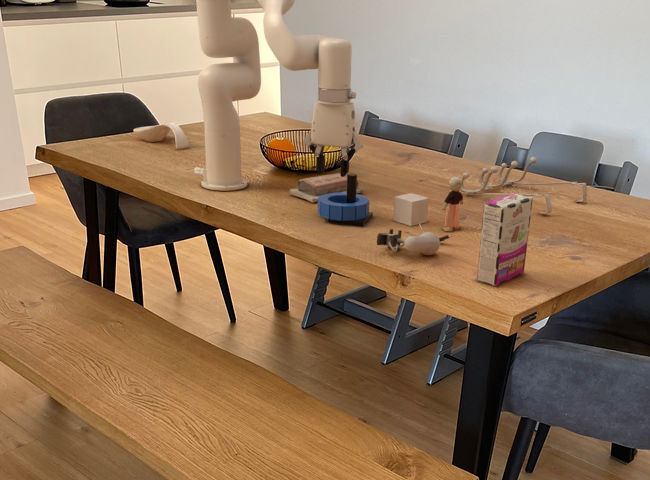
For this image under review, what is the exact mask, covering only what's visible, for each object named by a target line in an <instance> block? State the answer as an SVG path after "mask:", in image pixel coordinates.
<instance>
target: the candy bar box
mask: <svg viewBox="0 0 650 480" xmlns="http://www.w3.org/2000/svg"><path fill="white" fill-rule="evenodd" d="M510 194H511V195H503V196H501V197H499V198H495V199H493V200H490V201H487V202H484V203H483V211H482V221H481V231H480V232H481V233H480V242H479V243H480V244H479V253H478V264H477V274H476V275H477V276H476V280H477V282H480V283H483V284H487V285H491V286H494V287H497V286H499V285H501V284H503V283H506V282H508V281H510V280H513V279H514V278H517V277H519V276H521V275H524V273H525V266H526V259H527V250H528V241H529V232H530V225H531V216H532V207H533V201H534V200H533V199H534V197H533V196H525V195H519V194H520V193H515V192H514V193H510Z"/></svg>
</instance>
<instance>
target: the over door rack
mask: <svg viewBox="0 0 650 480" xmlns="http://www.w3.org/2000/svg"><path fill="white" fill-rule="evenodd" d="M537 162H538V158H537V157H535V156H532V157H530V159H529V162H528V163H527V164H526V166H525V167H524V170H523V172H522V174H521V177H519V178H518V179H516V180H508V177H510V176H509V175H510V173H511V171H512V170H513V169H516V168H517V167H518V166H519V162H518V161H517V160H513V161H511V163H510V167H509V168H508V169H507V170H506V172H505V174H504V177H503V172H504V170H505V169H506V168H507V167H508V164H507V163H505V162H502V164H501V166H500V167H501V168H500V170H499V168H498V167H497V166H496V165H492V166H491V167H490V171H489V168H488V167H487V166H486V167H483V168H482V172H481V174H480V175H479V183H480V185H481V186H482V187H480V188H477V189H467V188H465V186H464V182H465V180H466V179H468V178H469V177H470V174H469V173H468V172H463V174H462V177H461V179H462V181H463V183H462V185H461V189H460V190H461V191H462V192H464V193H466V194H467V195H468V196H507V195H511V194H512V193H508V192H507V193H506V192H505V193H503V192H501V193H500V192H499V193H498V192H497V193H496V192H495V193H494V192H485V191H488V190H491V189H495V188H500V187H504V186H540V185H541V186H543V185H545V186H546V185H571V186H578V185H581V186H582V199H578V200H575V202H576V203H583V202H584V203H585V202H587V200H588V190H587V189H588V188H587V183H586V182H578V181H556V182H555V181H553V182H552V181H551V182H549V181H548V182H521V181H523V180H524V178H525V177H526V175H527V172H528V170H529V169H530V167H531V166H532V165H535V164H537ZM498 170H499V171H498ZM488 172H489V173H488ZM497 173H498V175H497V176H498V179H499V181H500V183H498V184H489V181H490V178H491V176H492V175H493V174H497ZM486 174H487V175H486ZM485 175H486V177H485V180H484V176H485ZM518 194H519V195H525V196H528V197H533V198H540V197H545V202H546V209H547V210H546V211H541V212H540V215H542V214H543V215H547V214H551V213H552V212H553V210H552V209H553V207H552V200H551V196H550V194H549V193H547V194H541V193H518Z"/></svg>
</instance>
